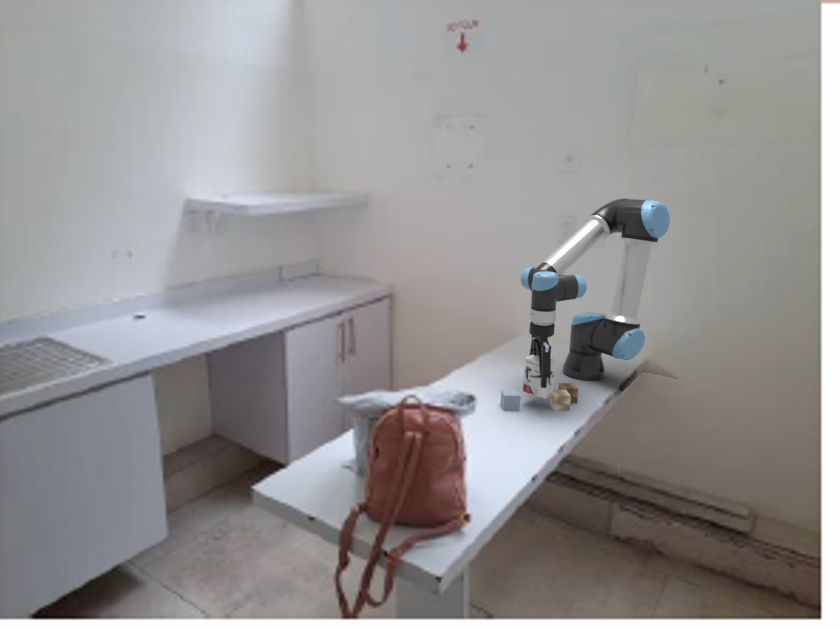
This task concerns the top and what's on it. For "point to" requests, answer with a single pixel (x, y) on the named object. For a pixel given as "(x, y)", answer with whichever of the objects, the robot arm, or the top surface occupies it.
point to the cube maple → (560, 400)
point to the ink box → (536, 376)
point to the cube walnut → (570, 390)
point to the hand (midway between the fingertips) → (537, 390)
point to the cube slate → (510, 400)
